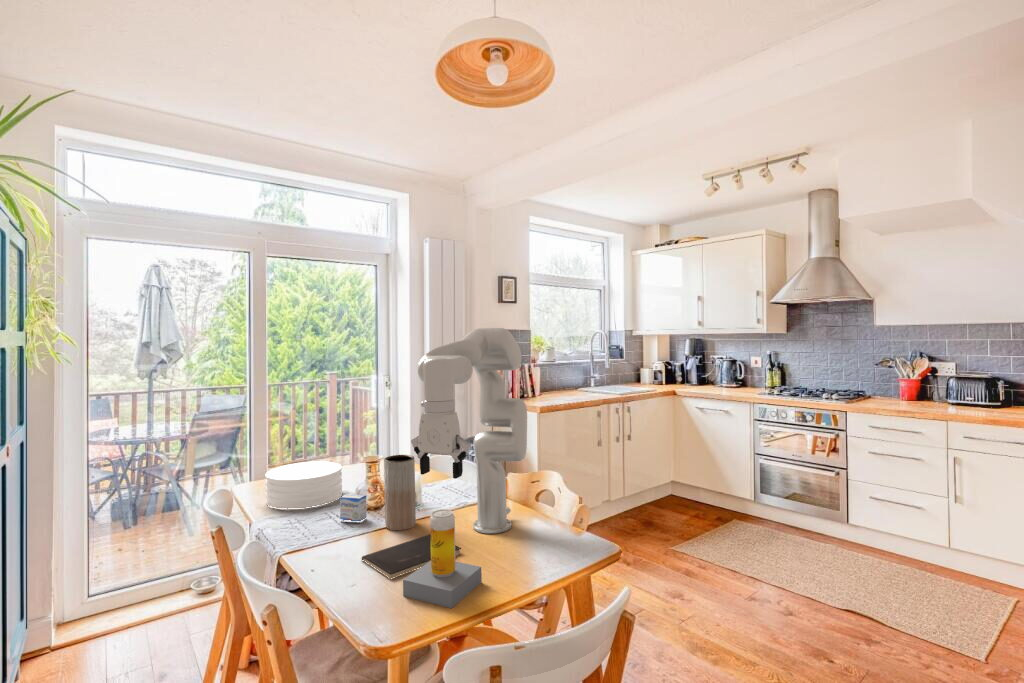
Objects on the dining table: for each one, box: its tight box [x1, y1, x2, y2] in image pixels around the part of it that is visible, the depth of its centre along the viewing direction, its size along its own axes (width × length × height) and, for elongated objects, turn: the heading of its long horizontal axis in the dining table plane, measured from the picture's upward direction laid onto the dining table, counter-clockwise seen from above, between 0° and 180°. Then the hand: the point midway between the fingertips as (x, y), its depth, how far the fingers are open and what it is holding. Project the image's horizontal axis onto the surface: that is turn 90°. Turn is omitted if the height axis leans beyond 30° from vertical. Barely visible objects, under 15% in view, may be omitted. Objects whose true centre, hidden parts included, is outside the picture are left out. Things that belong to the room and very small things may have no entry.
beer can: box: [429, 509, 457, 577], centre depth 131 cm, size 6×6×15 cm
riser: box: [402, 560, 483, 609], centre depth 131 cm, size 14×14×4 cm
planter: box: [383, 454, 417, 531], centre depth 175 cm, size 10×10×23 cm
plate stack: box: [265, 461, 343, 509], centre depth 207 cm, size 28×28×12 cm
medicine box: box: [339, 493, 368, 521], centre depth 181 cm, size 8×4×9 cm, turn 76°
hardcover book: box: [361, 533, 462, 580], centre depth 150 cm, size 16×23×2 cm
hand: (441, 475), depth 131 cm, fingers open, 9 cm apart
